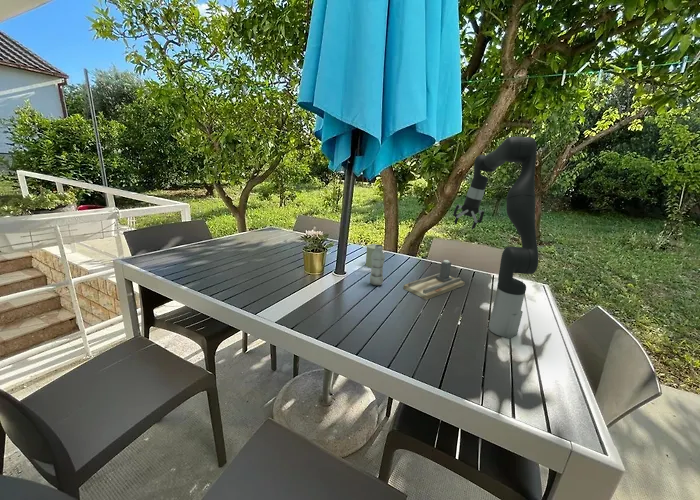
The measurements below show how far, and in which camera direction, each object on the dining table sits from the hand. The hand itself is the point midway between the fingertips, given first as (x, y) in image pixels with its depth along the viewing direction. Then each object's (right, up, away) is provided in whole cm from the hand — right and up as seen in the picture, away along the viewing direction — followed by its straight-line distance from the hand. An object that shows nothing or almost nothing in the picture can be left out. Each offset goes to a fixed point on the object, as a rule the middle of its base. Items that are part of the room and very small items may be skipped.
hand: (463, 226), depth 163 cm
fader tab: (-12, -27, -4) cm, 30 cm away
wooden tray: (-17, -31, -7) cm, 36 cm away
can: (-46, -21, +18) cm, 54 cm away
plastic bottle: (-46, -29, -8) cm, 56 cm away
